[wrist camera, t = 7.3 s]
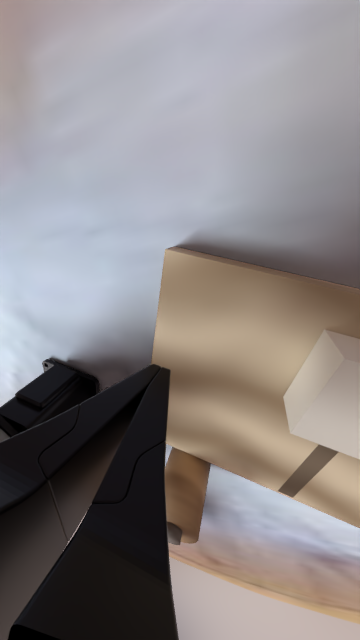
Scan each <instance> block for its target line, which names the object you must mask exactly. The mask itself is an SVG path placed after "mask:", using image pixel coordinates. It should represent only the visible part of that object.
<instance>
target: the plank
mask: <svg viewBox="0 0 360 640" xmlns="http://www.w3.org/2000/svg"><path fill="white" fill-rule="evenodd" d="M324 329H325V330H329V331H332V332H336V333H340V334H343V335H347V336H351V337H354V338H358V339H360V289H358V288H353V287H349V286H345V285H340V284H336V283H332V282H327V281H323V280H319V279H314V278H310V277H305V276H301V275H297V274H292V273H288V272H284V271H279V270H275V269H271V268H266V267H262V266H257V265H253V264H249V263H244V262H240V261H236V260H231V259H227V258H223V257H218V256H214V255H210V254H205V253H201V252H196V251H192V250H188V249H183V248H179V247H175V246H174V247H171V248H168V249H165V256H164V264H163V272H162V280H161V288H160V296H159V304H158V312H157V320H156V328H155V336H154V344H153V352H152V360H151V364H157V365H159V366H161V367H165V368H168V369H170V370H171V377H170V391H169V406H168V421H167V436H166V444H168V445H170V446H173V447H175V448H177V449H179V450H182V451H184V452H186V453H189V454H191V455H193V456H196V457H198V458H200V459H202V460H205V461H207V462H209V463H212V464H214V465H216V466H218V467H221V468H223V469H225V470H228V471H230V472H232V473H234V474H237V475H239V476H241V477H244V478H246V479H248V480H250V481H253V482H255V483H257V484H260V485H262V486H264V487H266V488H269V489H271V490H273V491H276V492H278V493H280V494H283V495H285V496H287V497H289V498H292V499H294V500H296V501H299V502H301V503H303V504H305V505H308V506H310V507H312V508H315V509H317V510H319V511H321V512H324V513H326V514H328V515H331V516H333V517H335V518H337V519H340V520H342V521H344V522H347V523H349V524H351V525H354V526H356V527H358V528H360V459H357V458H354V457H352V456H349V455H346V454H344V453H341V452H338V451H336V450H333V449H330V448H328V447H325V446H322V445H320V444H317V443H314V442H312V441H309V440H307V439H304V438H301V437H299V436H296V435H293V434H291V433H290V430H289V425H288V419H287V414H286V409H285V404H284V398H283V396H284V395H285V393H286V391H287V390H288V388H289V387H290V385H291V383H292V382H293V380H294V378H295V377H296V375H297V373H298V372H299V370H300V369H301V367H302V365H303V364H304V362H305V360H306V359H307V357H308V355H309V354H310V352H311V350H312V349H313V347H314V346H315V344H316V342H317V341H318V339H319V337H320V336H321V334H322V332H323V331H324Z"/></svg>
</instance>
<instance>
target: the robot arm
mask: <svg viewBox="0 0 360 640" xmlns="http://www.w3.org/2000/svg"><path fill="white" fill-rule="evenodd" d="M42 364H43V369H44V373H43V374H41V375H40V376H39V377H37V378H36V379H35V380H33V381H32V382H30V383H29V384H28V385H26V386H25V387H24V388H22V389H21V390H19V391H18V392H17V393H16V394H15V397H14V398H12V399H11V400H10V401H8V402H7V403H5V404H4V405H3V406H1V407H0V640H179V638H178V631H177V624H176V616H175V609H174V601H173V594H172V585H171V575H170V564H169V549H168V531H167V513H166V494H165V452H166V436H167V421H168V406H169V391H170V377H171V370H170V369H168V368H165V367H161V366H159V365H157V364H151V365H149V366H148V367H146V368H144V369H142V370H140V371H139V372H137V373H135V374H133V375H131V376H129V377H128V378H126V379H124V380H122V381H120V382H119V383H117V384H115V385H113V386H111V387H109V388H108V389H106V390H104V391H102V392H100V393H99V383H98V380H97V379H96V378H94V377H92V376H90V375H87V374H84V373H82V372H79V371H77V370H74V369H72V368H69V367H67V366H64V365H62V364H59V363H57V362H54V361H52V360H49V359H46V360H45V361H43V362H42ZM91 504H92V505H91ZM88 508H89V509H88ZM87 510H88V511H87ZM86 512H87V513H86ZM85 513H86V515H85ZM84 515H85V517H84ZM83 517H84V519H83V521H82V523H81V524H80V526H79V528H78V530H77V532H76V533H75V535H74V536H73V538H72V539H71V541H70V542H69V544H68V545H67V543H68V541H69V540H70V538H71V537H72V535H73V533H74V532H75V530H76V528H77V527H78V525H79V523H80V522H81V520H82V518H83ZM66 545H67V546H66ZM65 547H66V548H65ZM64 548H65V549H64ZM63 550H64V551H63ZM61 553H62V554H61Z"/></svg>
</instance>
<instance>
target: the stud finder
mask: <svg viewBox="0 0 360 640" xmlns="http://www.w3.org/2000/svg"><path fill="white" fill-rule="evenodd" d="M283 398H284V404H285V409H286V414H287V419H288V425H289V430H290V433H291V434H293V435H296V436H299V437H301V438H304V439H307V440H309V441H312V442H314V443H317V444H320V445H322V446H325V447H328V448H330V449H333V450H336V451H338V452H341V453H344V454H346V455H349V456H352V457H354V458H357V459H360V339H358V338H354V337H351V336H347V335H343V334H340V333H336V332H332V331H329V330H325V329H324V331H323V332H322V334H321V336H320V337H319V339H318V341H317V342H316V344H315V346H314V347H313V349H312V350H311V352H310V354H309V355H308V357H307V359H306V360H305V362H304V364H303V365H302V367H301V369H300V370H299V372H298V373H297V375H296V377H295V378H294V380H293V382H292V383H291V385H290V387H289V388H288V390H287V391H286V393H285V395H284V396H283Z"/></svg>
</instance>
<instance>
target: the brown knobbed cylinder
mask: <svg viewBox="0 0 360 640" xmlns="http://www.w3.org/2000/svg"><path fill="white" fill-rule="evenodd" d="M210 465H211V463H209V462H207V461H205V460H202V459H200V458H198V457H196V456H193V455H191V454H189V453H186V452H184V451H182V450H179V449H177V448H175V447H172V450H171V453H170V455H169V458H168V461H167V464H166V467H165V494H166V513H167V531H168V542H169V543H171V544H174V545H180V542H184V543H196V542H197V541H198V538H199V532H200V525H201V519H202V513H203V507H204V501H205V495H206V489H207V483H208V477H209V471H210Z"/></svg>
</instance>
